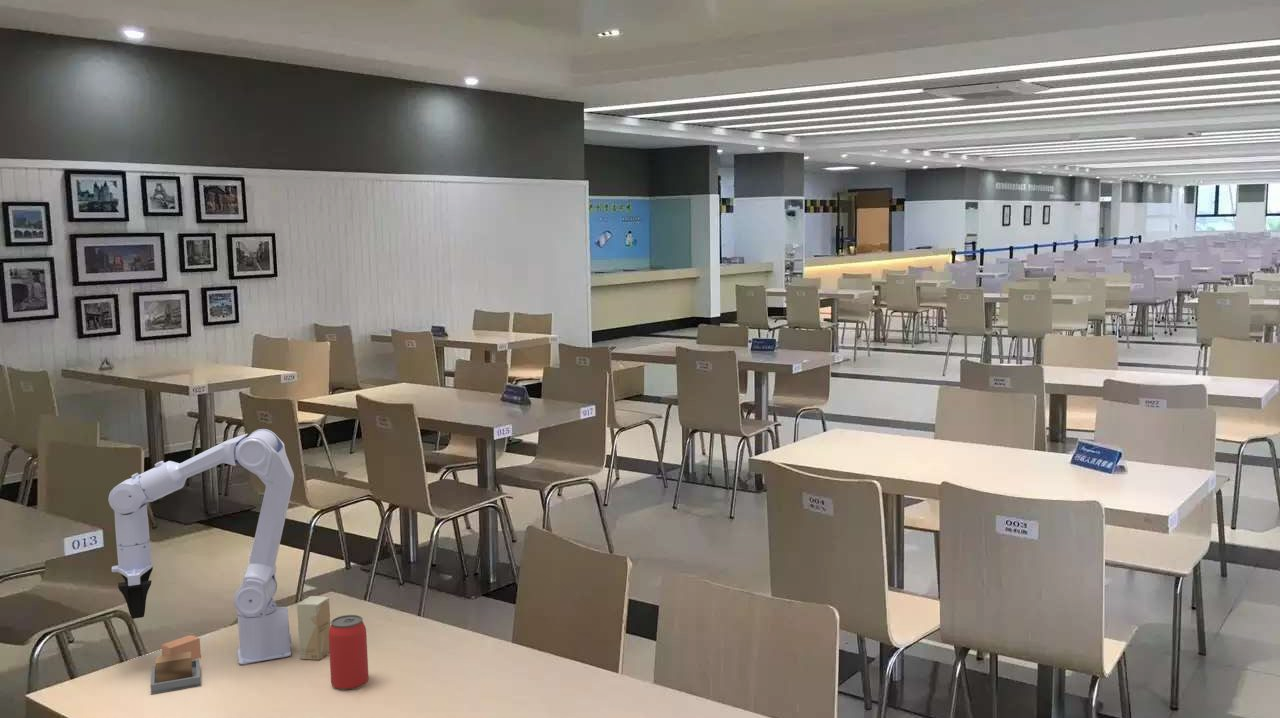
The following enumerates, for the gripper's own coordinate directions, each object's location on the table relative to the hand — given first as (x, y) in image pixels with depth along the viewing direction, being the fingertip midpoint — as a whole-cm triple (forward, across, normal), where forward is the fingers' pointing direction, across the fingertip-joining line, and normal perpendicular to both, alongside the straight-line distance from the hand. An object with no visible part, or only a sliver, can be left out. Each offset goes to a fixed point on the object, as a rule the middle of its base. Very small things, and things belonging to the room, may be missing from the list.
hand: (138, 611), depth 199 cm
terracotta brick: (+11, +2, +7) cm, 13 cm away
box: (+11, +11, +31) cm, 35 cm away
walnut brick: (+10, +12, +6) cm, 17 cm away
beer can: (+11, +28, +35) cm, 46 cm away
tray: (+10, +12, +6) cm, 17 cm away
